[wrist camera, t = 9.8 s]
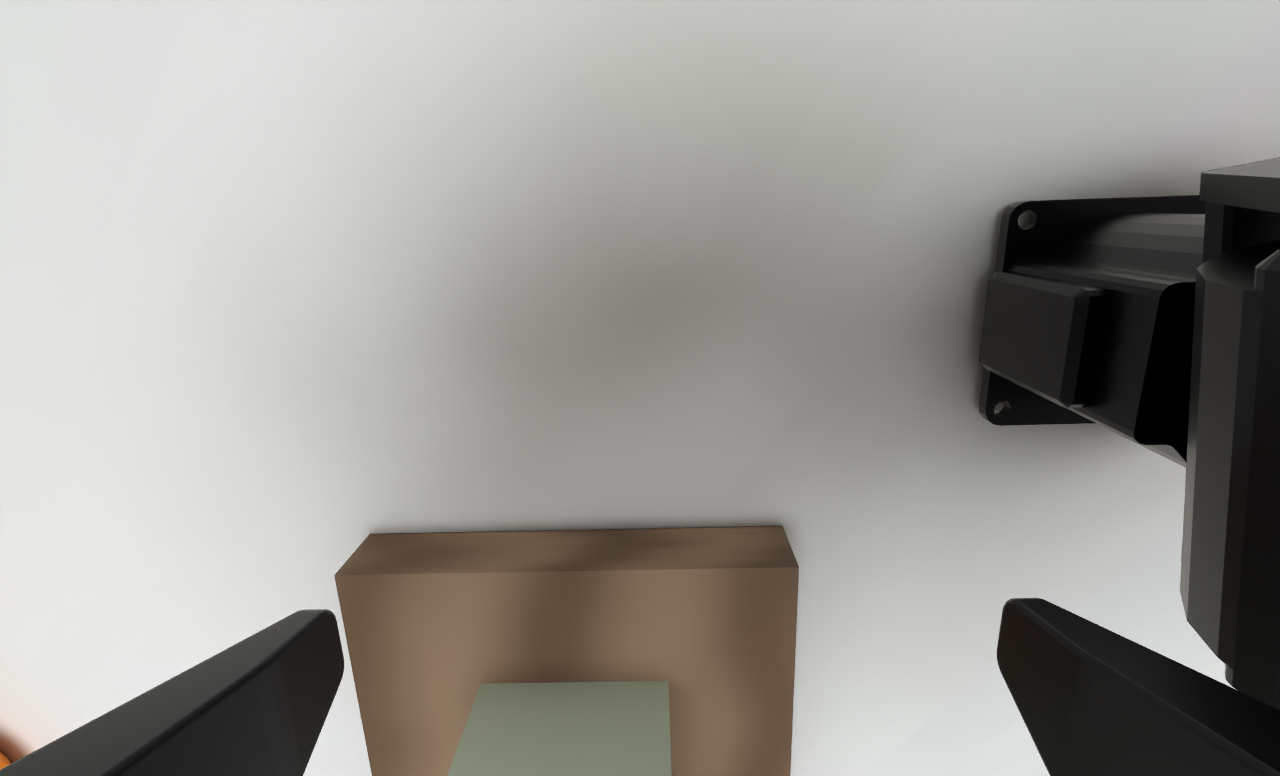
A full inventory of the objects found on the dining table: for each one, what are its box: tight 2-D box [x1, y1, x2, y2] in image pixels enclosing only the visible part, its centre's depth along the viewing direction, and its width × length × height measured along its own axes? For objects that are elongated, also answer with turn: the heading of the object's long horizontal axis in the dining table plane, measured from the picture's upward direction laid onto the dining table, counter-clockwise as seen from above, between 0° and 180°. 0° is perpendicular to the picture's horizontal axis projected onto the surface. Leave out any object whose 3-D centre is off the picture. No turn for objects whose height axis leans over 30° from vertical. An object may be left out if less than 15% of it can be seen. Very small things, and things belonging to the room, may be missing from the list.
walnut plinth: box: [335, 526, 799, 776], centre depth 22 cm, size 14×14×2 cm
